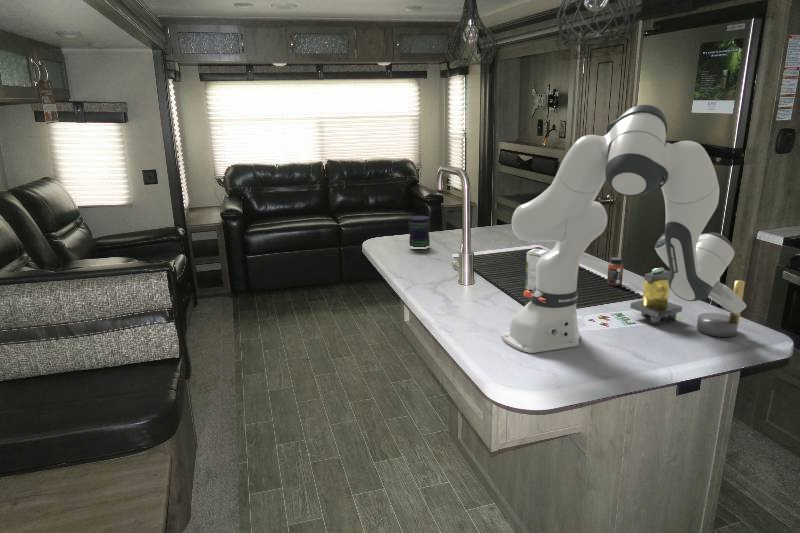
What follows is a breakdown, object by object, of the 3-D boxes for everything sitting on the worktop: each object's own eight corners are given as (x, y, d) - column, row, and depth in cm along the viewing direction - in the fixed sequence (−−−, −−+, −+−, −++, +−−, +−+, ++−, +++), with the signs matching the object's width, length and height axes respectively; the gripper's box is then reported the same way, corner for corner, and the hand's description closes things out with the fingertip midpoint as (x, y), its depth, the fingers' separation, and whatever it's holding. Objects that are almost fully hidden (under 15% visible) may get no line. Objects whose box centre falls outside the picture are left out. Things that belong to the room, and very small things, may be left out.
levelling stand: (657, 327, 159) (662, 275, 154) (629, 316, 167) (633, 267, 163) (680, 321, 163) (686, 270, 158) (652, 311, 172) (657, 262, 167)
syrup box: (531, 286, 200) (533, 247, 196) (546, 288, 196) (548, 250, 192) (524, 290, 196) (525, 251, 192) (539, 293, 192) (541, 253, 188)
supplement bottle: (622, 286, 195) (624, 260, 193) (607, 285, 197) (608, 259, 195) (621, 282, 200) (623, 257, 197) (607, 281, 202) (608, 256, 199)
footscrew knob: (742, 338, 149) (749, 285, 145) (702, 335, 151) (708, 283, 147) (730, 324, 158) (737, 274, 154) (692, 322, 161) (698, 273, 156)
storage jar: (410, 245, 268) (409, 215, 264) (430, 245, 266) (430, 215, 262) (408, 250, 258) (407, 219, 254) (428, 250, 257) (428, 219, 253)
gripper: (732, 280, 136) (765, 315, 139) (691, 258, 156) (720, 289, 158) (712, 297, 138) (745, 332, 140) (674, 273, 157) (703, 304, 160)
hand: (731, 309), depth 149 cm, fingers closed, pressing on footscrew knob
